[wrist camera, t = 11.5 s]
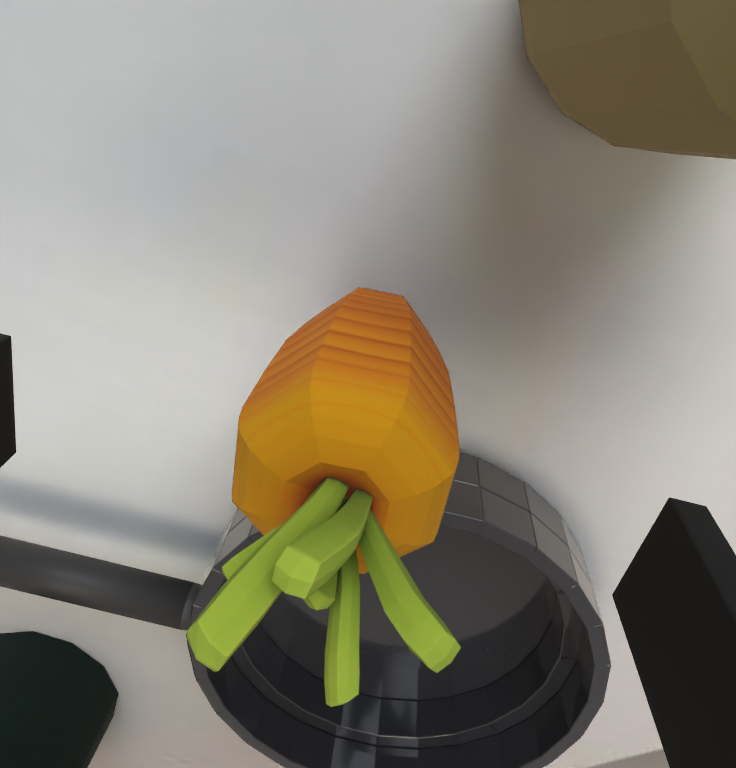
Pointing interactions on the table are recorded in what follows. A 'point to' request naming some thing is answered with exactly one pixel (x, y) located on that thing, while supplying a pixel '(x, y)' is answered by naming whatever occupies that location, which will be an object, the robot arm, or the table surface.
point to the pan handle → (96, 583)
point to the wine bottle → (51, 703)
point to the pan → (407, 672)
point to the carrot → (341, 484)
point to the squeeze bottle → (640, 70)
